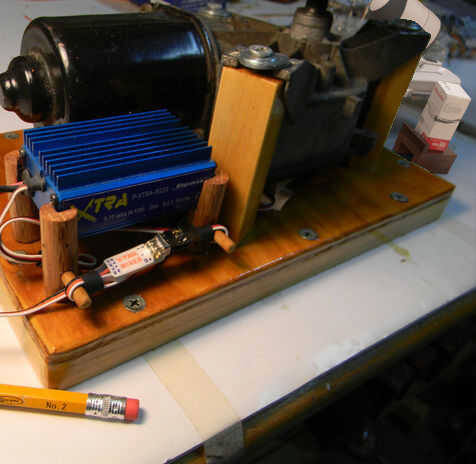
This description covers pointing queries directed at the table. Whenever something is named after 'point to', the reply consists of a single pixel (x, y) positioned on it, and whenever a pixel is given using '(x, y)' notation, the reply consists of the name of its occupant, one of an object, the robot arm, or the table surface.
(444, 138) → the ink box
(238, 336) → the table surface
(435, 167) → the dark brown wooden box
